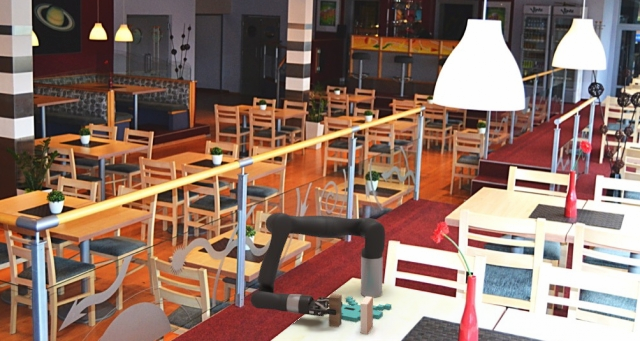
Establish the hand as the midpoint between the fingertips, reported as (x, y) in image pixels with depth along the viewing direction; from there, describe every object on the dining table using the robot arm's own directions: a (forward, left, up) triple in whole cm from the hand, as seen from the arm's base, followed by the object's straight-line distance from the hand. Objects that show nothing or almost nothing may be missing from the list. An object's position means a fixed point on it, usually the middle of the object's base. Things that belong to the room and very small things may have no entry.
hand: (339, 308), depth 323 cm
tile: (+1, +11, -7) cm, 13 cm away
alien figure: (-15, +4, -8) cm, 17 cm away
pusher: (0, -2, -7) cm, 7 cm away
